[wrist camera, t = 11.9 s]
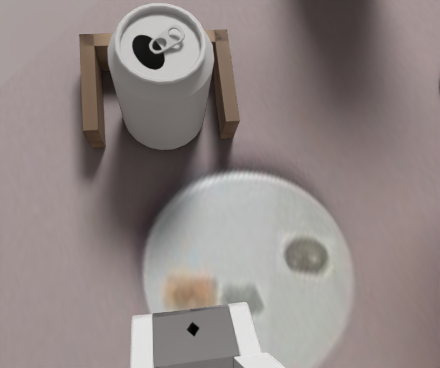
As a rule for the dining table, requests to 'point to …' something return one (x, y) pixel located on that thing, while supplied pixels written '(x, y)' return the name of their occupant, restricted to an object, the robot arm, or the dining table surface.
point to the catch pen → (98, 60)
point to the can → (161, 74)
